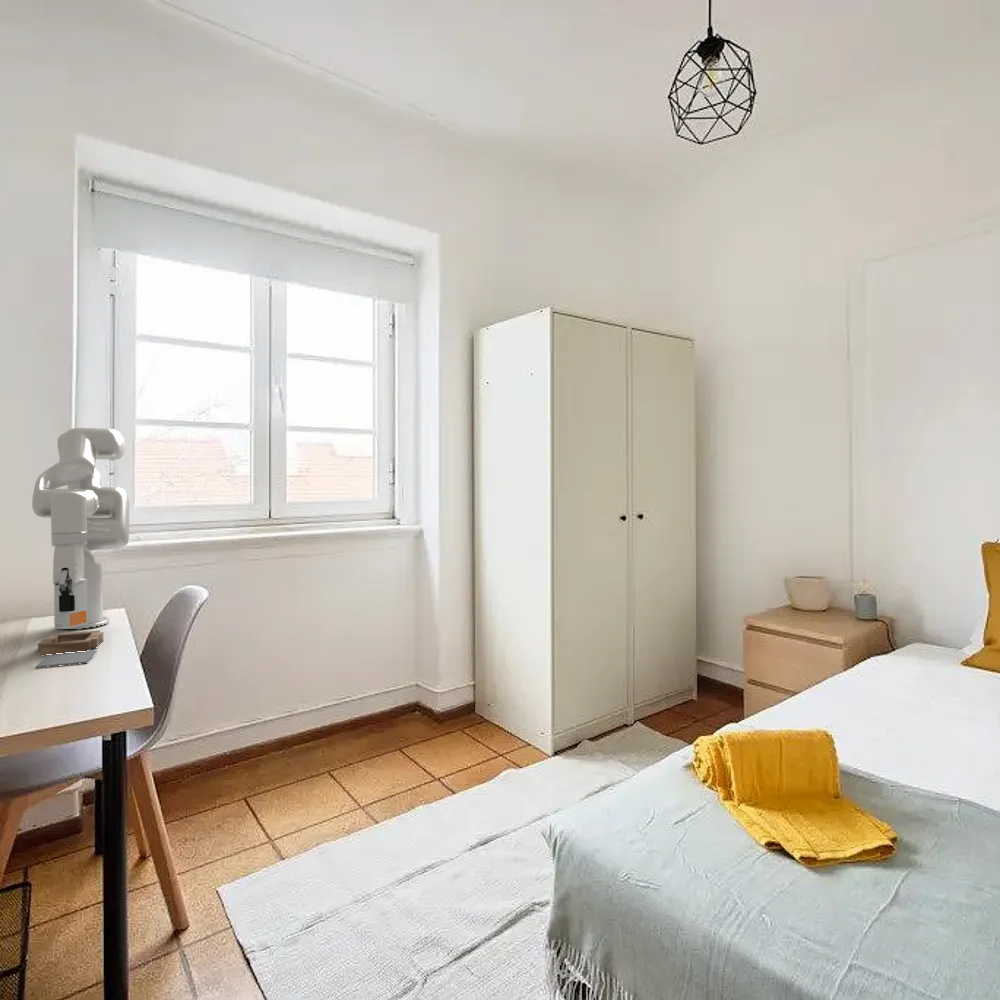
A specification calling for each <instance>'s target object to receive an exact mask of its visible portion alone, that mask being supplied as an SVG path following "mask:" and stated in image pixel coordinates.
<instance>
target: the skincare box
mask: <svg viewBox="0 0 1000 1000" xmlns="http://www.w3.org/2000/svg"><path fill="white" fill-rule="evenodd" d="M67 583H71V582H67ZM58 584H59V583H58ZM53 587H54V588H53V590H54V592H53V593H54V594H53V595H54V596H53V598H54V599H53V600H54V601H53V602H54V605H53V606H54V612H53V613H54V616H53V617H54V624H53V625H54V629H58V630H63V629H70V628H73V627H78V626H82V625H86V624H87V579H81V580H80V581H79V582H78V583H76V584H74V590H73V595H75V610H74V611H68V612H60V611H59V588H60V586H59V585H57V586H55V585H54V584H53ZM69 589H70V587H69Z"/></svg>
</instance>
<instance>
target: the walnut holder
mask: <svg viewBox="0 0 1000 1000" xmlns="http://www.w3.org/2000/svg"><path fill="white" fill-rule="evenodd" d="M102 642H103V643H104V631H101V630H87V631H75V632H73V631H72V632H64V633H63V632H62V633H60V632H59V633H55V634H53V635H51V636H46V637H44V638H43V639H42V640H40V641H39V642H38V643H37V654H38V653H40V656H41V655H45V656H47V655H46V654H56V653H65V652H77V651H87V650H90V649H91V648H96V647H98V646H99V645H100V644H101V643H102ZM103 643H102V644H103ZM102 644H101V645H102ZM101 645H100V646H101ZM100 646H99V647H100ZM99 647H98V648H99ZM91 650H92V649H91ZM91 650H90V651H91Z"/></svg>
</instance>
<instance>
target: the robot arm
mask: <svg viewBox="0 0 1000 1000" xmlns="http://www.w3.org/2000/svg"><path fill="white" fill-rule="evenodd" d="M125 447H126V445H125V439H124V437H123V436H122V434H121V433H120V432H119V431H118V430H116V429H113V428H112V429H111V428H101V427H100V428H99V427H98V428H96V427H93V428H92V427H74V428H70V429H68V430H67V431H66V432H64V433H62V434H60V435H58V438H57V450H58V451H57V452H58V455H59V461H58V462H57V463H55V464H53V465H51V466H50V467H49V468H47V469H46V470H44V471H43V472H42V473H40V475H38V477H37V479H36V481H35V483H34V489H33V493H32V499H31V502H32V503H31V506H32V510H33V512H34V514H35V515H36V516H37V517H40V518H42V519H43V518H44V519H48V518H49V519H50V532H51V533H50V538H51V540H50V541H51V546H52V547H54V548H53V549H54V552H53V560H52V561H53V565H52V568H53V569H52V584H53V586H54V585H55V586H57V585H59V586H60V588H59V611H60V612H68V611H74V610H75V595H73V590H74V584H76V583H78V582H79V581H80V580H81V579H87V624H86V625H82V626H78V627H73V628H70V629H77V630H83V629H82V628H87V629H90V628H89V627H93V628H97V627H96V626H98V627H101V626H100V625H102V626H105V625H108V624H109V623H110V618H108V617H106V616H104V612H103V611H104V609H103V607H104V606H103V605H104V604H103V599H104V598H103V568H102V563H101V561H100V559H98V557H97V556H95V555H94V554H93V553H92V551H102V550H119V549H123V548H125V547H126V546H127V545H128V543H129V540H130V538H129V537H130V501H129V496H128V493H127V491H126V490H125V489H123V488H121V487H116V486H102V475H101V474H100V472H99V471H98V470H97V469H96V460H120V459H122V458H123V456H124V453H125V450H126V448H125ZM65 486H67V488H61V487H65ZM67 582H71V583H67ZM58 583H59V584H58ZM69 587H70V589H69ZM108 622H109V623H108ZM104 624H105V625H104Z"/></svg>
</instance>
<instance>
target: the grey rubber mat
mask: <svg viewBox="0 0 1000 1000" xmlns="http://www.w3.org/2000/svg"><path fill="white" fill-rule="evenodd" d="M96 652H98V650H90V651H86V652H75V653H63V654H52V655H46V656H45V657H44V658H43V659H42V660H41V661H40V662H39V663H37V665H35V669H38V668H37V667H46V668H48V667H47V666H57V667H60V666H59V665H67V666H70V665H69V664H78V665H80V664H79V663H87V662H88V661H89V660H90V659H91V658H92V656H93V655H94V654H95V653H96ZM96 654H97V653H96ZM96 654H95V655H96ZM95 655H94V656H95ZM94 656H93V657H94ZM92 659H93V658H92ZM92 659H91V660H92ZM91 660H90V661H91ZM90 661H89V662H90ZM89 662H88V663H89ZM88 663H87V664H88Z"/></svg>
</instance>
